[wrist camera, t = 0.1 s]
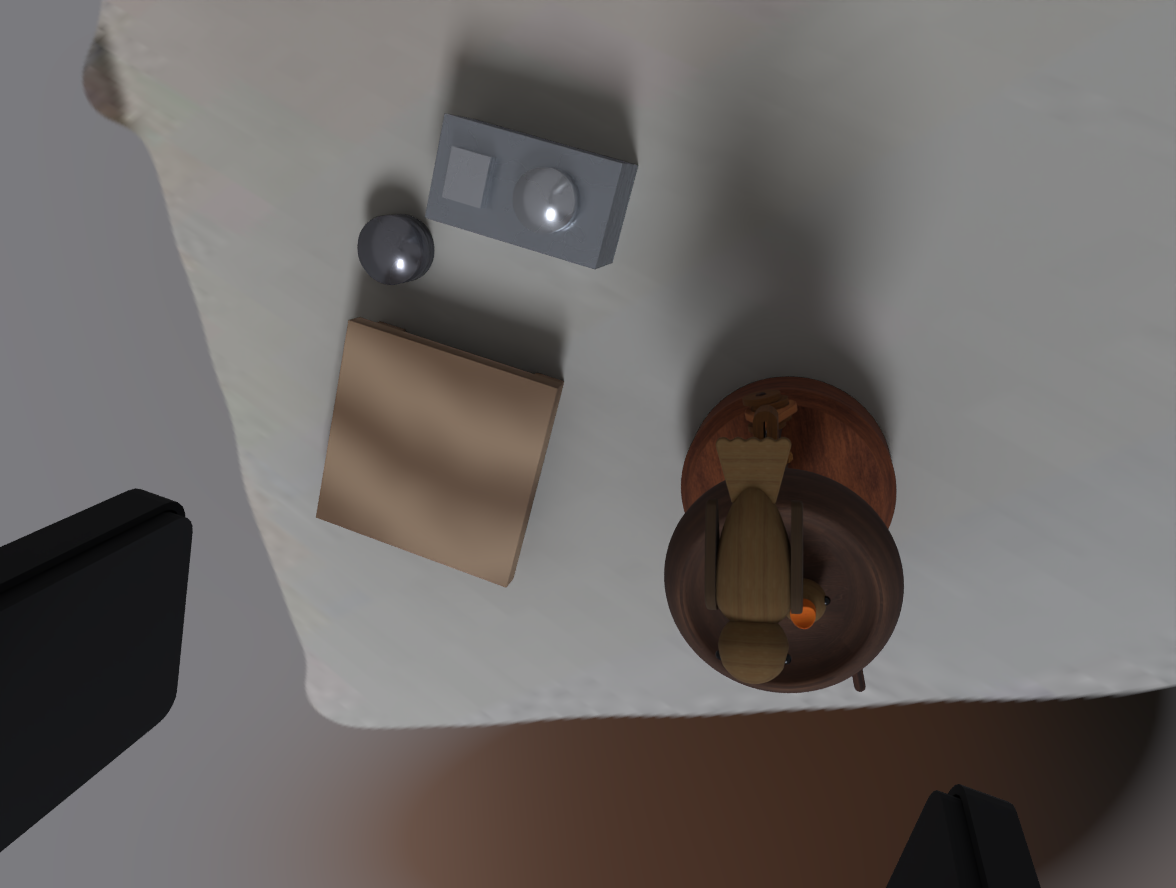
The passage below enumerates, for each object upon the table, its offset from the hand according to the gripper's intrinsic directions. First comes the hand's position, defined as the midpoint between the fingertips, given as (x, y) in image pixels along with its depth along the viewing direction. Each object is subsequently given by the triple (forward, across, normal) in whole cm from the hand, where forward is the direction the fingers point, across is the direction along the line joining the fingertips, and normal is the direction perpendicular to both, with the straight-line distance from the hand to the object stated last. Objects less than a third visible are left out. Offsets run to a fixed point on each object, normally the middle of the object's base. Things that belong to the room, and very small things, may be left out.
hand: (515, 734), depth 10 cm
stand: (+37, +14, +12) cm, 41 cm away
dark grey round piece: (+37, +19, +2) cm, 41 cm away
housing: (+37, +12, -3) cm, 39 cm away
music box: (+37, -5, +8) cm, 38 cm away
